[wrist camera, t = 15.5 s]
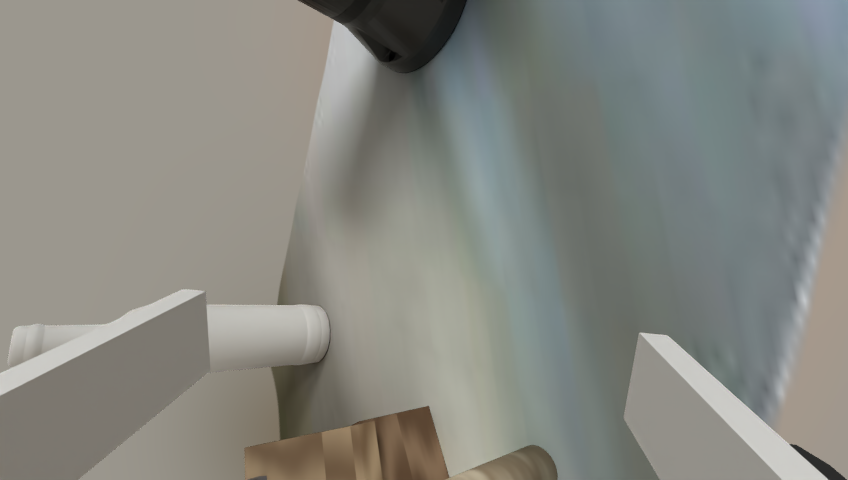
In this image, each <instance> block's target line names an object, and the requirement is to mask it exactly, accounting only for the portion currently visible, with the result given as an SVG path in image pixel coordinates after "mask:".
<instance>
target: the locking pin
mask: <svg viewBox="0 0 848 480" xmlns="http://www.w3.org/2000/svg"><path fill="white" fill-rule="evenodd" d="M445 480H557V469H556V466H555V464H554V461H553V460H552V458H551V456H550V455H549V454H548V453H547V452H546V451H545V450H544V449H542V448H541V447H539V446H535V445H530V446H527V447H524V448H522V449H519V450H517V451H514V452H512V453H509V454H507V455H504V456H502V457H499V458H497V459H495V460H492V461H490V462H487V463H485V464H482V465H480V466H477V467H475V468H472V469H470V470H468V471H465V472H463V473H460V474H458V475H455V476H453V477H450V478H448V479H445Z"/></svg>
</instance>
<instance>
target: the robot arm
mask: <svg viewBox="0 0 848 480" xmlns="http://www.w3.org/2000/svg"><path fill="white" fill-rule="evenodd" d="M298 1H301V2H302V3H304V4H306V5H308V6H310V7H311V8H313V9H315V10H317V11H319V12H321V13H322V14H324V15H326V16H328V17H330V18H332V19H334V20H335V21H337V22H339V23H341V24H342V25H344V26H345V27H347V28H348V30H349V31H350V32H351V33H352V34H353V35H354V36H355V37H356V38H357V39H358V40H359V41H360V42H361V44H362V45H363V46H364V47H365V48H366V49H367V50H368V51H369V52H370V53H371V54H372V55H373V56H374V57H375V59H376V60H377V61H379V62H380V63H381V64H383V65H385V66H387V67H388V68H390V69H392V70H394V71H396V72H400V73H407V72H411V71H414V70H416V69H418V68H420V67H421V66H423V65H424V64H426V63H427V62H428V61H429V60H430V59H431V58H432V57H433V56H434V55H435V54H436V53H437V52H438V51H439V50H440V49H441V47H442V46H443V45H444V43H445V42H446V41H447V39H448V38H449V36H450V34H451V33H452V31H453V29H454V28H455V26H456V24H457V22H458V20H459V17H460V15H461V13H462V10H463V8H464V5H465V2H466V0H298ZM209 371H210V354H209V337H208V321H207V305H206V292H205V291H197V290H186V289H182V290H180V291H178V292H176V293H174V294H171V295H169V296H167V297H165V298H163V299H160V300H158V301H156V302H154V303H152V304H150V305H147V306H145V307H143V308H141V309H139V310H137V311H134V312H132V313H130V314H128V315H126V316H124V317H121V318H119V319H117V320H115V321H113V322H111V323H108V324H106V325H104V326H102V327H100V328H97V329H95V330H93V331H91V332H89V333H87V334H84V335H82V336H80V337H78V338H76V339H74V340H71V341H69V342H67V343H65V344H63V345H61V346H58V347H56V348H54V349H52V350H50V351H47V352H45V353H43V354H41V355H39V356H37V357H34V358H32V359H30V360H28V361H26V362H24V363H21V364H19V365H17V366H15V367H13V368H11V369H8V370H6V371H4V372H2V373H0V480H78V479H79V478H80V477H82V476H83V475H84V474H85V473H87V472H88V471H89V470H90V469H92V468H93V467H94V466H95V465H96V464H97V463H99V462H100V461H101V460H102V459H104V458H105V457H106V456H107V455H108V454H110V453H111V452H112V451H113V450H115V449H116V448H117V447H118V446H119V445H121V444H122V443H123V442H124V441H125V440H127V439H128V438H129V437H130V436H132V435H133V434H134V433H135V432H136V431H138V430H139V429H140V428H141V427H142V426H144V425H145V424H146V423H147V422H149V421H150V420H151V419H152V418H153V417H155V416H156V415H157V414H158V413H159V412H161V411H162V410H163V409H164V408H165V407H167V406H168V405H169V404H170V403H172V402H173V401H174V400H175V399H177V398H178V397H179V396H180V395H181V394H183V393H184V392H185V391H186V390H187V389H189V388H190V387H191V386H192V385H194V384H195V383H196V382H197V381H198V380H200V379H201V378H202V377H203V376H204V375H206V374H207V373H208V372H209ZM624 420H625V421H626V423H627V425H628V427H629V428H630V430H631V432H632V433H633V435H634V437H635V438H636V440H637V442H638V443H639V445H640V447H641V448H642V450H643V452H644V453H645V455H646V457H647V459H648V460H649V462H650V464H651V465H652V467H653V469H654V470H655V472H656V474H657V475H658V477H659V479H660V480H847V479H845V478H844V477H843V476H842V475H841V474H839V473H838V472H837V471H836V470H835V469H834V468H832V467H831V466H830V465H828V464H827V463H825V462H823V461H822V460H820V459H819V458H817V457H815V456H814V455H812V454H810V453H809V452H807V451H805V450H804V449H802V448H801V447H799V446H797V445H792V444H788V443H787V442H786V441H784V439H782V438H781V437H780V436H779V435H778V434H777V433H776V432H775V431H774V430H772V429H771V428H770V427H769V426H768V425H767V424H766V423H765V422H764V421H762V420H761V419H760V418H759V417H758V416H757V415H756V414H755V413H753V412H752V411H751V410H750V409H749V408H748V407H747V406H746V405H745V404H743V403H742V402H741V401H740V400H739V399H738V398H737V397H736V396H735V395H733V394H732V393H731V392H730V391H729V390H728V389H727V388H726V387H724V386H723V385H722V384H721V383H720V382H719V381H718V380H717V379H716V378H714V377H713V376H712V375H711V374H710V373H709V372H708V371H707V370H705V369H704V368H703V367H702V366H701V365H700V364H699V363H698V362H697V361H695V360H694V359H693V358H692V357H691V356H690V355H689V354H688V353H687V352H685V351H684V350H683V349H682V348H681V347H680V346H679V345H678V344H676V343H675V342H674V341H673V340H672V339H671V338H670V337H669V336H668V335H658V334H648V333H639V336H638V342H637V347H636V353H635V358H634V364H633V369H632V375H631V380H630V386H629V391H628V397H627V402H626V408H625V413H624Z"/></svg>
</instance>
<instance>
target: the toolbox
mask: <svg viewBox="0 0 848 480" xmlns="http://www.w3.org/2000/svg"><path fill="white" fill-rule="evenodd" d="M372 421H375V428H376V436H377V443H378V450H379V457H380V464H381V471H382V478H383V480H445V479H448V478H449V475H448V472H447V468H446V465H445V461H444V458H443V454H442V451H441V447H440V444H439V440H438V437H437V433H436V430H435V427H434V423H433V420H432V416H431V413H430V409H429V406H426V407H422V408H417V409H413V410H409V411H404V412H400V413H395V414H391V415H386V416H382V417H377V418H373V419H368V420H364V421H359V422H357V423H355V424H353V425H358V424H363V423H367V422H372ZM353 425H351V426H353Z"/></svg>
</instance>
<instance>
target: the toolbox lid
mask: <svg viewBox="0 0 848 480" xmlns="http://www.w3.org/2000/svg"><path fill="white" fill-rule="evenodd" d="M245 480H383V478H382V471H381V464H380V457H379V450H378V443H377V436H376V428H375V421H372V422H367V423H363V424H358V425H353V426H348V427H343V428H338V429H333V430H328V431H323V432H318V433H313V434H309V435H304V436H299V437H294V438H289V439H284V440H279V441H274V442H269V443H264V444H260V445H255V446H250V447H246V448H245Z"/></svg>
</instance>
